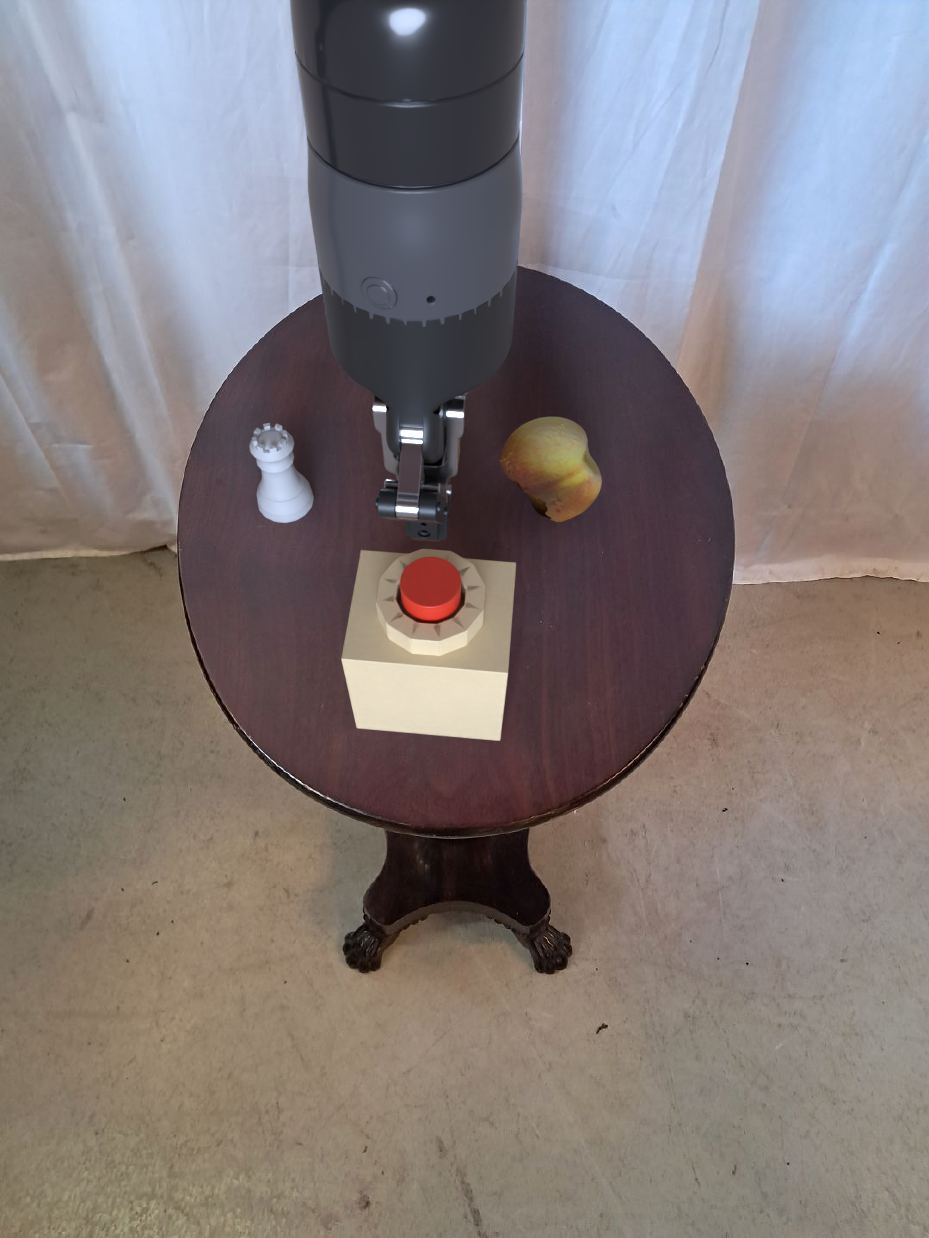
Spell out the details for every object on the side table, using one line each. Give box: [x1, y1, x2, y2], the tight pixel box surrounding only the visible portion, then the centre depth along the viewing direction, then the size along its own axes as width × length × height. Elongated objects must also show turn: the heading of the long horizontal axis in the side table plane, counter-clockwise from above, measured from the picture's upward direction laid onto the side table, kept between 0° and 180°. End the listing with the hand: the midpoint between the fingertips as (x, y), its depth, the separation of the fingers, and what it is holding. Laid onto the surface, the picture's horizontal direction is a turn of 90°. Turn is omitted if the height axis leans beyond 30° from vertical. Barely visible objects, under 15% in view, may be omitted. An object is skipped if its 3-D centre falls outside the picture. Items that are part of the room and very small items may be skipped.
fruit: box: [498, 416, 603, 523], centre depth 70 cm, size 8×8×8 cm
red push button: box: [400, 557, 461, 622], centre depth 54 cm, size 4×4×2 cm
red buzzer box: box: [340, 548, 517, 742], centre depth 60 cm, size 10×8×12 cm
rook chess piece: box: [248, 422, 315, 524], centre depth 70 cm, size 4×4×8 cm
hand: (428, 523), depth 49 cm, fingers closed
